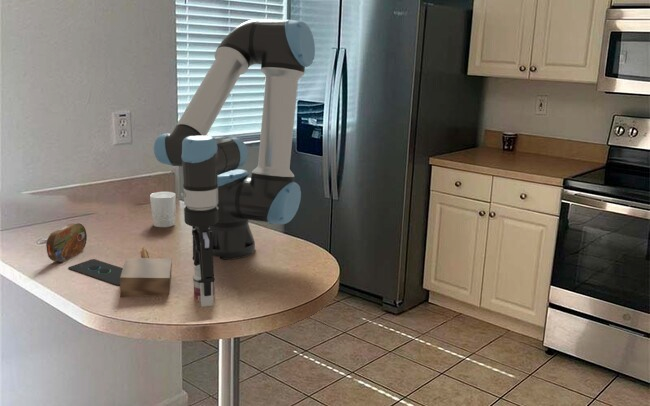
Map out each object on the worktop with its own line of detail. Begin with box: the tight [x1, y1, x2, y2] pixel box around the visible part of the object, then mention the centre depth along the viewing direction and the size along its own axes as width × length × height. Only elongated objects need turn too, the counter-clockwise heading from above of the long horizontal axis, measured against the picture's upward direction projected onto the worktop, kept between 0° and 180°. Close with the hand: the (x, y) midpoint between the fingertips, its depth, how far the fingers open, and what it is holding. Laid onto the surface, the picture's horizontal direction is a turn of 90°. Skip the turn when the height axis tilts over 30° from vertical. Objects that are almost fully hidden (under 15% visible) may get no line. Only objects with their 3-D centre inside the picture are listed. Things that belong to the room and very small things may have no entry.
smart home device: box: [68, 258, 123, 287], centre depth 156 cm, size 8×2×20 cm
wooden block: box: [119, 257, 173, 298], centre depth 147 cm, size 11×11×5 cm
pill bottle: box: [192, 265, 216, 303], centre depth 141 cm, size 5×5×8 cm
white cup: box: [149, 191, 176, 228], centre depth 196 cm, size 8×8×10 cm
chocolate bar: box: [139, 246, 150, 258], centre depth 167 cm, size 3×12×2 cm, turn 21°
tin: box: [45, 222, 88, 263], centre depth 167 cm, size 15×3×8 cm, turn 168°
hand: (204, 299), depth 142 cm, fingers open, 8 cm apart
